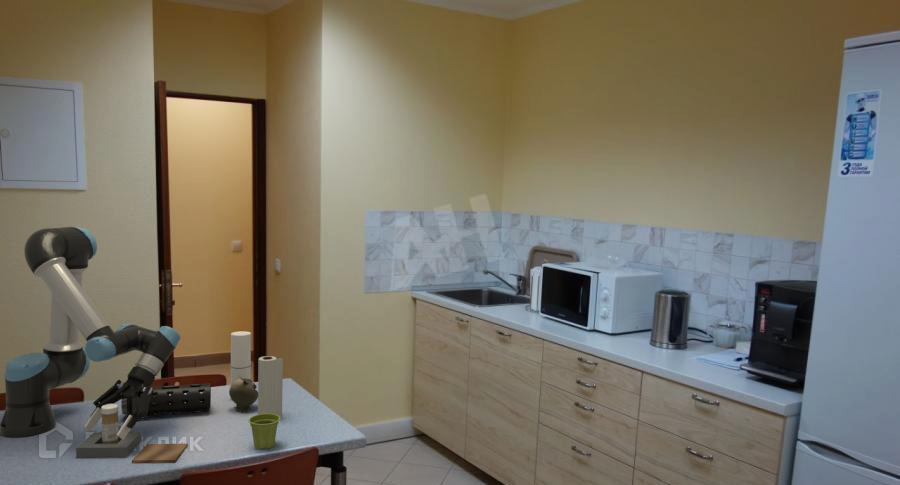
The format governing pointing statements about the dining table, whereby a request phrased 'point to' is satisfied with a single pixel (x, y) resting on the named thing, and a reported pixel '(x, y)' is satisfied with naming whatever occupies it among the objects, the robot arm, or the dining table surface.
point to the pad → (160, 453)
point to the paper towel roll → (270, 385)
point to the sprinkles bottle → (109, 424)
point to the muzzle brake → (175, 400)
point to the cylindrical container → (240, 355)
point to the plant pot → (264, 430)
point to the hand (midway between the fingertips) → (103, 433)
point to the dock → (108, 446)
